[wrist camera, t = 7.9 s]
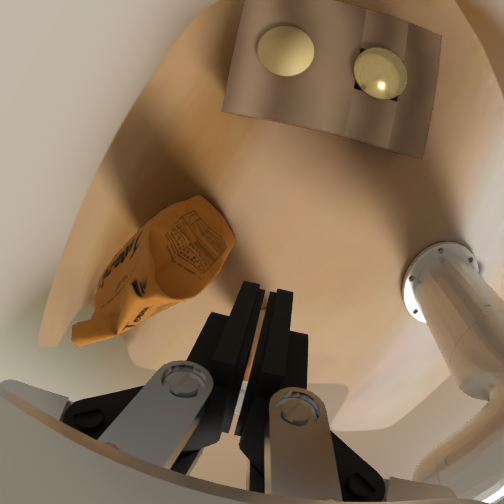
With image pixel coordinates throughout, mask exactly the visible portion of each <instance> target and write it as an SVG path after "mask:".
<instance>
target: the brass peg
mask: <svg viewBox="0 0 504 504" xmlns="http://www.w3.org/2000/svg"><path fill="white" fill-rule="evenodd" d="M353 75H354V79H355V84H354V89H358V90H361V91H363V92H364V93H365V94H367V95H368V96H370V97H372V98H375V99H379V100H388V99H392V98H394V97H396V96H398V95H400V94H401V93H402V92H403V90H404V89H405V87H406V84H407V71H406V68H405V66H404V64H403V62H402V61H401V60H400V58H399V57H398V56H397V55H395V54H394V53H393V52H391V51H389V50H386V49H383V48H370V49H367V50H365V51H363V52H362V53H361V54H360V55H359V56H358V57H357V59H356V60H355V63H354V66H353Z"/></svg>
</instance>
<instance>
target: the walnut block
mask: <svg viewBox="0 0 504 504" xmlns="http://www.w3.org/2000/svg"><path fill="white" fill-rule="evenodd" d="M441 40H442V36H441V35H439V34H436V33H434V32H432V31H429V30H427V29H425V28H422V27H420V26H417V25H415V24H412V23H409V22H407V21H404V20H401V19H398V18H395V17H392V16H389V15H386V14H383V13H380V12H377V11H373V10H370V9H367V8H363V7H359V6H356V5H352V4H348V3H344V2H339V1H335V0H245V1H244V5H243V9H242V14H241V18H240V23H239V27H238V32H237V36H236V41H235V46H234V51H233V56H232V60H231V65H230V70H229V76H228V81H227V86H226V91H225V97H224V102H223V108H222V112H226V113H230V114H234V115H238V116H244V117H251V118H257V119H262V120H268V121H273V122H278V123H284V124H289V125H293V126H298V127H303V128H307V129H312V130H316V131H320V132H324V133H329V134H333V135H337V136H340V137H344V138H348V139H352V140H355V141H359V142H363V143H366V144H370V145H373V146H376V147H380V148H383V149H386V150H389V151H393V152H396V153H399V154H402V155H406V156H410V157H414V158H418V159H421V160H422V158H423V154H424V149H425V145H426V140H427V135H428V131H429V126H430V120H431V115H432V109H433V104H434V98H435V91H436V84H437V77H438V69H439V61H440V51H441ZM370 48H383V49H386V50H389V51H391V52H393V53H394V54H395V55H397V56H398V57H399V58H400V60H401V61H402V62H403V64H404V66H405V68H406V71H407V84H406V87H405V89H404V90H403V92H402V93H401V94H400V95H398V96H396V97H394V98H392V99H388V100H379V99H375V98H372V97H370V96H368V95H367V94H365V93H364V92H363V91H361V90H358V89H354V84H355V79H354V75H353V66H354V63H355V60H356V59H357V57H358V56H359V55H360V54H361V53H362V52H363V51H365V50H367V49H370Z"/></svg>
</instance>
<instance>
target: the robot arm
mask: <svg viewBox="0 0 504 504" xmlns="http://www.w3.org/2000/svg"><path fill="white" fill-rule="evenodd" d="M439 248H440V249H439ZM438 249H439V250H438ZM410 276H411V277H410ZM259 287H260V284H256V283H251V282H247V281H244V282H243V284H242V287H241V289H240V291H239V294H238V296H237V299H236V301H235V304H234V306H233V309H232V311H231V313H230V316H226V315H222V314H218V313H214V312H211V314H210V315H209V317H208V319H207V321H206V323H205V325H204V327H203V329H202V331H201V333H200V335H199V337H198V339H197V341H196V343H195V345H194V347H193V349H192V351H191V353H190V355H189V357H188V358H187V360H186V361H181V360H179V361H172V362H169V363H167V364H165V365H163V366H162V367H161V368H160V369H159V370H158V371H157V372H156V373H155V374H154V375H153V376H152V378H151V379H150V380H149V381H148V382H147V383H146V385H144V386H140V387H136V388H132V389H128V390H123V391H119V392H115V393H110V394H106V395H101V396H97V397H92V398H87V399H82V400H79V401H76V402H71V401H69V398H68V397H65V396H62V395H58V394H55V393H52V392H49V391H45V390H42V389H39V388H36V387H33V386H30V385H28V384H25V383H22V382H19V381H15V380H5V381H3V382H1V383H0V504H504V301H503V300H502V299H501V298H500V297H499V296H498V294H497V293H496V292H495V291H494V290H493V289H492V288H491V287H490V286H489V285H488V284H487V283H486V282H485V281H484V280H483V279H482V278H481V277H480V276H479V268H478V263H477V261H476V259H475V257H474V255H473V254H472V253H471V251H469V250H468V249H467V248H466V247H465V246H463V245H461V244H459V243H456V242H449V241H446V242H439V243H437V244H434V245H431V246H430V247H428V248H426V249H425V250H423V251H422V252H421V253H420V254H418V256H417V257H416V258H415V259H414V260H413V261H412V263H411V264H410V266H409V267H408V269H407V271H406V274H405V276H404V280H403V284H402V297H403V301H404V304H405V306H406V308H407V310H408V312H409V313H410V314H411V315H412V316H413V317H414V318H416V319H417V320H419V321H422V322H425V323H427V325H428V327H429V329H430V331H431V333H432V335H433V337H434V339H435V341H436V343H437V345H438V347H439V349H440V351H441V353H442V355H443V358H444V360H445V362H446V364H447V366H448V368H449V371H450V373H451V375H452V377H453V379H454V381H455V383H456V385H457V386H458V387H459V389H460V390H461V391H463V392H464V393H465V394H467V395H468V396H471V397H473V398H476V399H480V400H485V401H488V403H487V404H486V405H485V406H484V407H483V408H482V409H481V410H480V411H479V412H478V413H477V414H476V415H475V416H474V417H473V418H472V419H471V420H470V421H469V422H467V423H466V424H465V425H463V426H462V427H461V428H460V429H458V430H457V431H456V432H455V433H453V434H452V435H451V436H450V437H448V438H447V439H445V440H444V441H443V442H442V443H440V444H439V445H438V446H436V447H435V448H434V449H432V450H431V451H430V452H429V453H428V454H426V455H425V456H424V457H423V458H422V459H421V460H420V462H419V463H418V465H417V466H416V468H415V471H414V474H413V479H412V481H410V480H404V479H399V478H394V477H389V478H388V479H383V478H382V477H381V476H380V475H379V474H378V472H377V471H376V470H374V469H373V468H372V467H371V466H370V465H369V464H367V463H366V462H365V461H364V460H363V459H362V458H361V457H359V456H358V455H357V454H356V453H355V452H354V451H353V450H351V449H350V448H349V447H348V446H347V445H346V444H345V443H344V442H343V441H342V440H340V439H339V438H338V437H337V436H336V435H335V434H334V433H333V432H332V431H331V430H330V427H329V423H328V417H327V411H326V408H325V405H324V403H323V402H322V401H321V399H320V398H319V397H318V396H317V395H315V394H314V393H313V392H310V391H308V390H307V366H308V335H307V334H303V333H298V332H294V331H290V323H291V313H292V303H293V292H290V291H286V290H281V289H277V292H276V293H275V292H271V291H270V295H269V299H268V303H267V307H266V311H265V315H264V319H263V323H262V327H261V331H260V335H259V339H258V343H257V347H256V351H255V355H254V359H253V363H252V367H251V371H250V375H249V379H248V383H247V387H246V391H245V395H244V399H243V403H242V407H241V411H240V415H239V418H238V422H237V426H236V430H235V434H234V435H238V436H241V438H240V442H239V446H240V447H239V448H240V449H241V450H242V452H243V453H244V454H245V455H246V457H247V458H248V460H247V470H246V490H243V489H238V488H233V487H229V486H225V485H221V484H216V483H213V482H209V481H205V480H202V479H198V478H195V477H191V476H189V475H190V474H191V472H192V470H193V469H194V467H195V465H196V463H197V462H198V460H199V458H200V456H201V455H202V453H203V450H204V447H206V446H209V445H211V444H214V443H216V442H217V441H219V439H220V435H221V433H222V432H225V433H229V430H230V426H231V423H232V419H233V415H234V412H235V408H236V405H237V401H238V397H239V394H240V390H241V386H242V383H243V379H244V375H245V372H246V368H247V364H248V360H249V357H250V353H251V348H252V344H253V340H254V336H255V332H256V327H257V323H258V319H259V315H260V310H261V306H262V302H263V298H264V293H265V290H263V289H259Z"/></svg>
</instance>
